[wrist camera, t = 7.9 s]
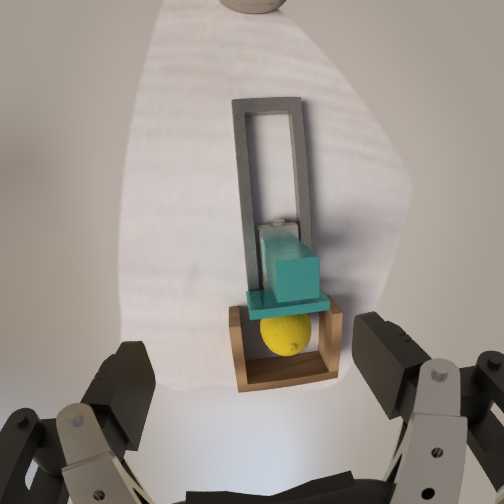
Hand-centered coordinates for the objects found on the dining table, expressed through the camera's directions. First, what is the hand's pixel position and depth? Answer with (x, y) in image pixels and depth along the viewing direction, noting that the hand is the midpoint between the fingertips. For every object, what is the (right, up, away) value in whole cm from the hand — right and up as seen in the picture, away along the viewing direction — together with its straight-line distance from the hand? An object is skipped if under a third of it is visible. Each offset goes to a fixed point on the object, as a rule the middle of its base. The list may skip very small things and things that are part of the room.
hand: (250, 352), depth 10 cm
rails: (+3, +8, +21) cm, 23 cm away
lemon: (+3, -3, +24) cm, 25 cm away
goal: (+4, -6, +25) cm, 26 cm away
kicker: (+3, +4, +22) cm, 23 cm away
